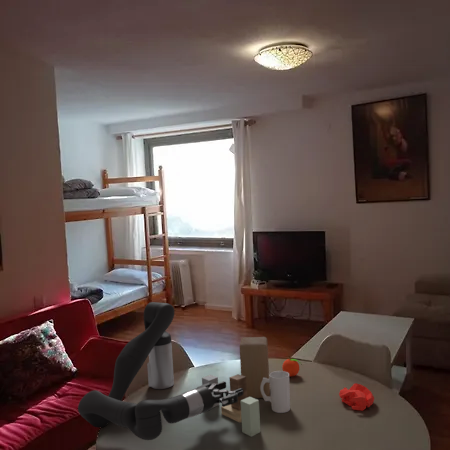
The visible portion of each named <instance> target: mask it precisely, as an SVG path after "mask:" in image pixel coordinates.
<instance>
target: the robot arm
mask: <svg viewBox="0 0 450 450" xmlns="http://www.w3.org/2000/svg"><path fill="white" fill-rule="evenodd" d="M174 317H175V308H174V306H173V305H172V304H170V303H166V302H159V301H158V302H156V301H150V302H149V303H147V304H146V305H145V308H144V310H143V324H144V331H143V332H141V333H140V334H138V335H136V336H135V337H133V338H132V339H131V340H130V341H128V342H127V343H126V344H125V346H124V347H123V348H122V349H121V351H120V352H119V354H118V356H117V358H116V359H115V364H114V371H113V383H112V385H111V386H112V387H111V389H110V392H108V393H109V394H108V395H106V394H103V393H102V392H101V391H99V390H89V391H88V392H87V393H86V394H84V395H83V397H81V399H80V400H79V402H78V405H77V411H78V414H79V415H80V416H81V417H82V418H83V419H84V420H85V421H86V422H88V423H89V424H90V425H91V426H92V427H95V428H100V429H101V428H104V427H106V426H107V425H108V424H109V423H110V422H111V423H113V424H115V425H116V426H119V427H122V428H126V429H129V431H130V432H131V433H132V434H134V435H135V436H136V437H137V438H139V439H141V440H144V441H152V440H155V439H157V438H158V437H159V436H160V435H161V434H162V432H163V424H162V423H163V422H162V416H163V418H164V419H165V421H166V422H167V423H168V424H175V423H178V422H181V421H183V420H186V419H189V418H193V417H197V416H199V415H202V414H204V413H207V412H209V411H211V410H212V409H213V408H212V407H213V405H214V404H216V403H219V404H221V407H222V406H223V407H225V406H228V405H230V404H233V403H236V402H238V397H239V396H242V395H243V394H244V392H243V388H240V389H237V390H234V391H230V390H228V389H227V382H226V381H220V382H218V384H215V383H214V384H211V383H207V384H204V385H202V384H201V385H199V386H197V387H196V388H193V389H190V390H187V391H185V392H183V393H181V394H178V395H175V396H172V397H169V398H164V399H163V398H162V399H144V400H143V399H142V400H141V401H139V402H138V403H135V402H129V401H123V398H124V396H125V394H126V393H127V390H128V389H129V388H130V385H131V383H132V382H133V380H134V379H135V377H136V376H137V374H138V373H139V371H140V370H141V368H142V367H143V365H144V363H145V362H146V361H147V358H148V362H147V363H146V364H147V365H146V366H147V379H148V388H152V389H154V390H163V389H164V390H165V389H168V388H171V387H173V386H174V384H175V378H174V364H173V363H174V361H173V347H172V335H171V334H170V333H169V332H168V331H167V330H168V328H169V327H170V325H171V324H172V322H173V320H174ZM207 386H208V388H207ZM224 394H225V395H224ZM161 413H162V415H161Z"/></svg>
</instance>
